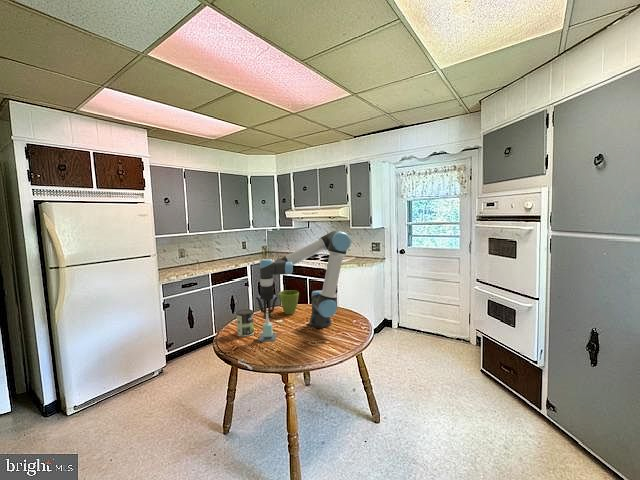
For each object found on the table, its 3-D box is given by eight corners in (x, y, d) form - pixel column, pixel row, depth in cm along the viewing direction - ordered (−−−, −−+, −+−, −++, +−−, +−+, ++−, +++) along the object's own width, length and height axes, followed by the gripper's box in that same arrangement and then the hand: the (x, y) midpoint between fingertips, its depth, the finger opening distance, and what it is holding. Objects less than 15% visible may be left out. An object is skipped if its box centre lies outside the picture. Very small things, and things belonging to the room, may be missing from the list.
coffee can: (256, 330, 193) (255, 309, 192) (249, 337, 183) (248, 314, 182) (241, 329, 195) (241, 308, 194) (234, 336, 185) (233, 313, 184)
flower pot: (275, 313, 227) (275, 292, 226) (289, 308, 239) (289, 289, 237) (289, 317, 218) (288, 296, 216) (303, 312, 229) (303, 292, 228)
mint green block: (272, 333, 184) (272, 322, 184) (271, 336, 179) (271, 325, 179) (264, 333, 184) (263, 322, 184) (262, 336, 179) (262, 325, 178)
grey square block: (277, 334, 187) (276, 322, 186) (275, 340, 177) (275, 328, 176) (260, 334, 187) (260, 322, 186) (258, 341, 177) (258, 328, 176)
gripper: (278, 283, 183) (278, 320, 185) (256, 283, 183) (257, 321, 185) (277, 286, 176) (277, 325, 178) (254, 286, 175) (255, 325, 177)
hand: (267, 323), depth 181 cm, fingers closed
